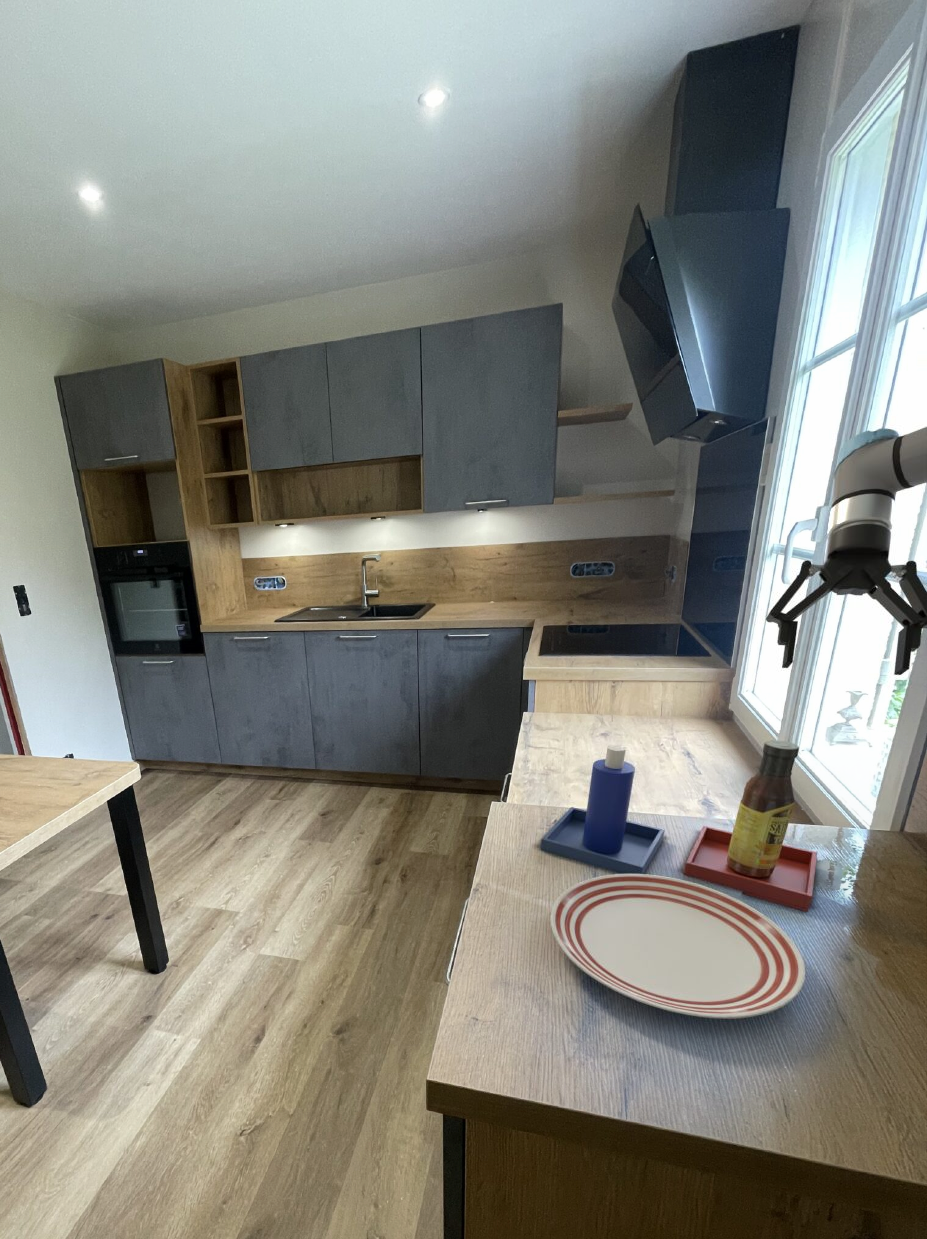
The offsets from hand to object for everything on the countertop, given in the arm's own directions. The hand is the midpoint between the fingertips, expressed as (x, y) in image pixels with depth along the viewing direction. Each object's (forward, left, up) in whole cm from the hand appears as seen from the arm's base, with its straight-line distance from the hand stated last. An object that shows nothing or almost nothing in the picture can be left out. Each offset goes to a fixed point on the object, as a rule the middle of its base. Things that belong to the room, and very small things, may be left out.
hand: (842, 668), depth 90 cm
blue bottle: (+25, +21, -28) cm, 43 cm away
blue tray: (+25, +21, -29) cm, 43 cm away
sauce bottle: (+5, +16, -28) cm, 33 cm away
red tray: (+5, +16, -29) cm, 33 cm away
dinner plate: (+11, +43, -29) cm, 53 cm away
